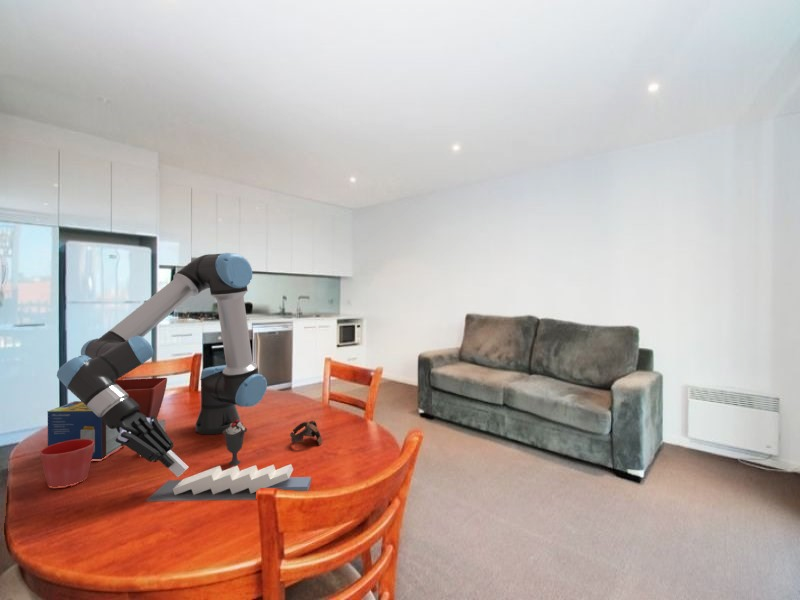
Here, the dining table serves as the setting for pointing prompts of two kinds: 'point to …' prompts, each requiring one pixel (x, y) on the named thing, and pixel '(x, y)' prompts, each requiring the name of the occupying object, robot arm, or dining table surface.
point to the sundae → (234, 439)
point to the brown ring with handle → (306, 432)
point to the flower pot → (67, 461)
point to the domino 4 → (255, 479)
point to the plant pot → (145, 393)
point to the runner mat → (168, 495)
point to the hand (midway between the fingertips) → (183, 472)
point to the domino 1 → (197, 480)
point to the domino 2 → (218, 480)
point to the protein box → (81, 428)
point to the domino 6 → (294, 484)
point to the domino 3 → (237, 479)
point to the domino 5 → (274, 478)
